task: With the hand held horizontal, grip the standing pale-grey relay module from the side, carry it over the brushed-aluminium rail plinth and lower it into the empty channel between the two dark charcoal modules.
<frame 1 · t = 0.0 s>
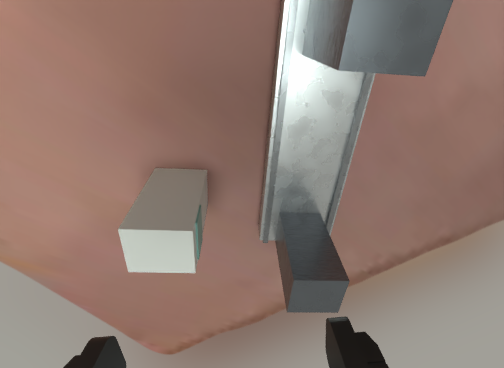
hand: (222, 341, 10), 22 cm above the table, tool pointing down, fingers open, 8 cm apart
rail: (307, 138, 30), on the table
module: (182, 187, 32), on the table
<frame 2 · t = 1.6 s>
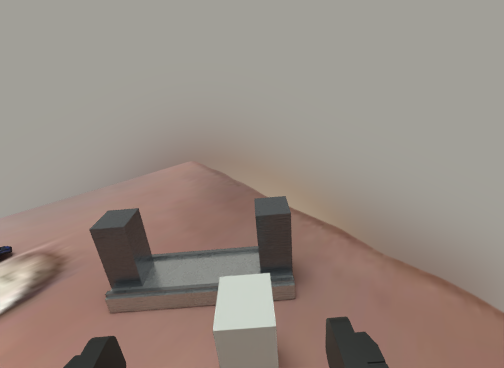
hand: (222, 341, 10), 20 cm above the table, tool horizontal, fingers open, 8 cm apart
rail: (206, 282, 41), on the table
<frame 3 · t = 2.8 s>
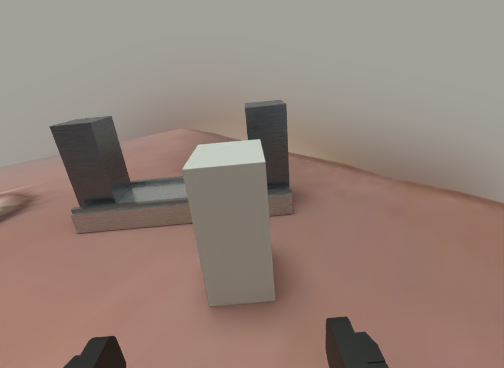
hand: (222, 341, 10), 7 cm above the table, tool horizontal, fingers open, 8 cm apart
rail: (191, 206, 36), on the table
module: (242, 275, 23), on the table
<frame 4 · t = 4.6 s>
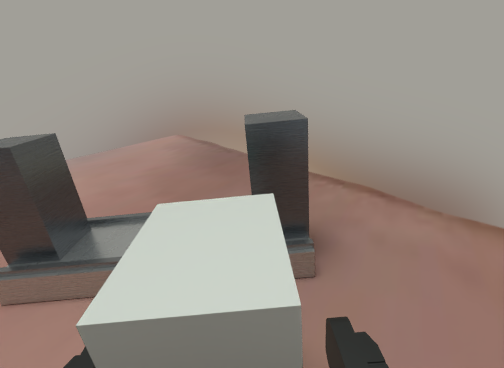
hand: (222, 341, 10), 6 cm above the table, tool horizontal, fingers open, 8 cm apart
rail: (171, 256, 26), on the table
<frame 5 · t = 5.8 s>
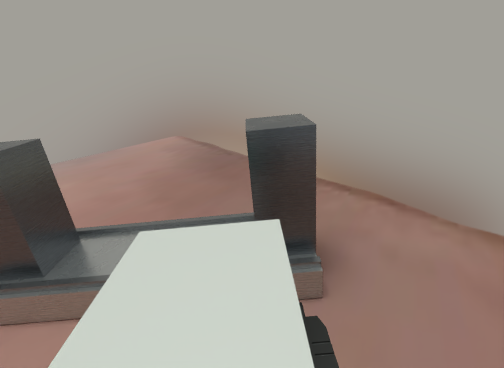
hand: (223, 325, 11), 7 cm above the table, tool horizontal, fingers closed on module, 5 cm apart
rail: (166, 271, 24), on the table
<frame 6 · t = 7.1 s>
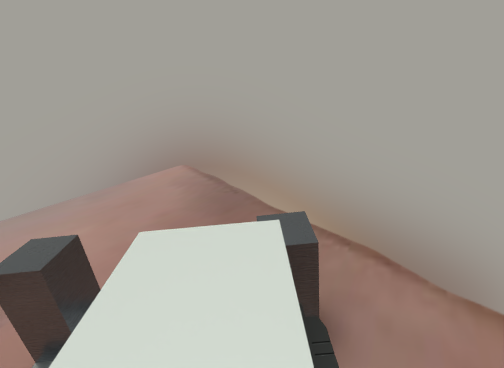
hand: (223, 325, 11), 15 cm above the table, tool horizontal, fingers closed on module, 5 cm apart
rail: (187, 342, 27), on the table
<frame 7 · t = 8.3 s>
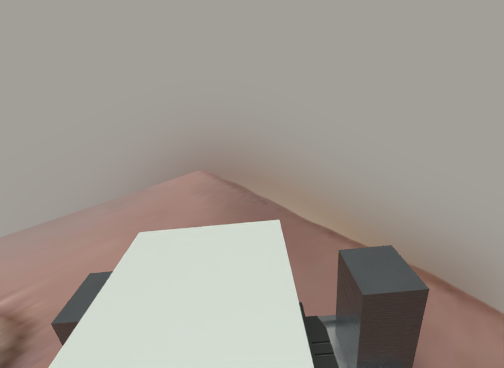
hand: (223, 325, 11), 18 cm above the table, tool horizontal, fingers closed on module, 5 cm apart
when the fingers open (10 cm above the table, at t = 11.8 s): module stays where it is, resting on rail.
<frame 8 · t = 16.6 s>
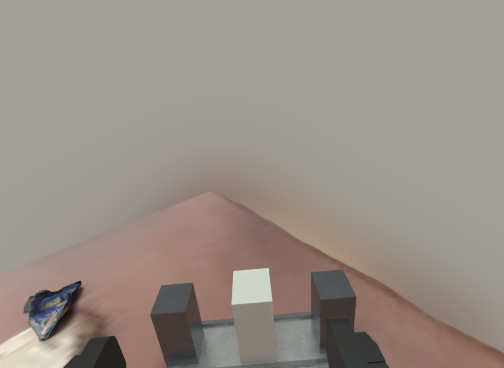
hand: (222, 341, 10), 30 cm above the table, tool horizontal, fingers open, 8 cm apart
rail: (259, 353, 40), on the table
module: (258, 342, 39), point 2 cm above the table, touching rail
snack package: (56, 313, 52), on the table
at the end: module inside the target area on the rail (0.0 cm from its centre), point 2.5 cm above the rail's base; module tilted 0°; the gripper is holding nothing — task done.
